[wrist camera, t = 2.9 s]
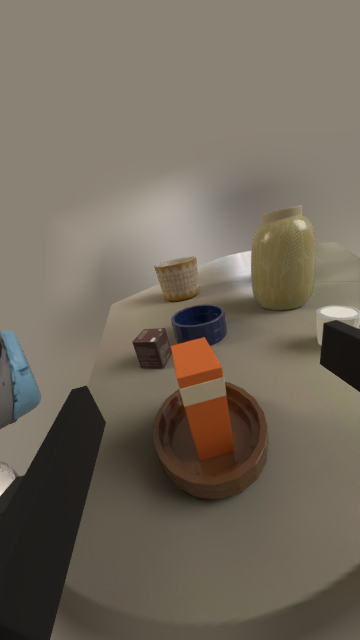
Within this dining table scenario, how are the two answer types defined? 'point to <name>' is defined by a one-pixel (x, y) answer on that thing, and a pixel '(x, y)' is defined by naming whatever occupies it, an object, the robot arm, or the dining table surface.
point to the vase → (283, 260)
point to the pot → (200, 324)
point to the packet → (203, 397)
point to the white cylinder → (336, 317)
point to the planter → (178, 278)
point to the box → (152, 348)
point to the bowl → (221, 471)
